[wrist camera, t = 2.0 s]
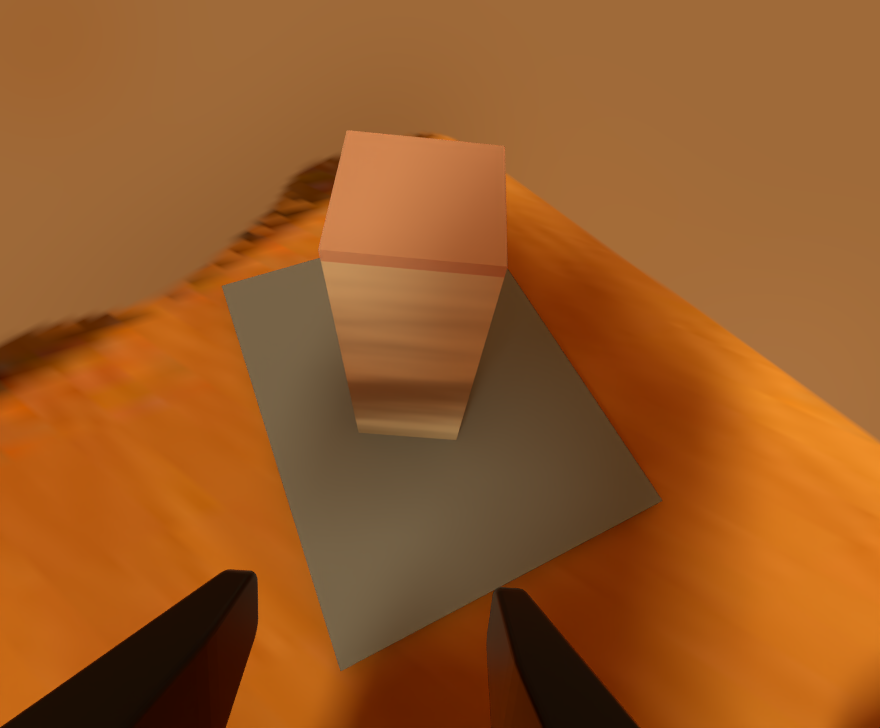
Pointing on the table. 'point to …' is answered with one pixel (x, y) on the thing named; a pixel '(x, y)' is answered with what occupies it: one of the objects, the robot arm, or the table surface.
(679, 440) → the table surface
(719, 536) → the table surface
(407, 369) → the maple block
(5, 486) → the table surface
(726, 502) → the table surface
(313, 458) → the rubber mat
